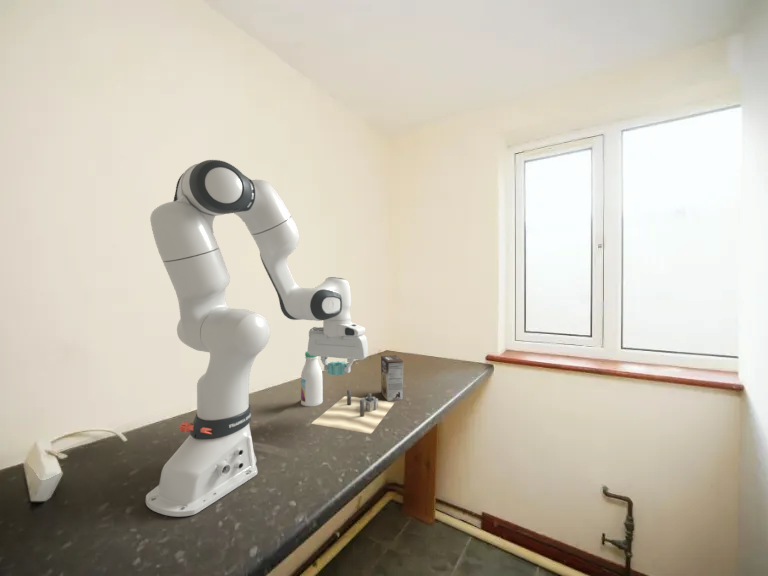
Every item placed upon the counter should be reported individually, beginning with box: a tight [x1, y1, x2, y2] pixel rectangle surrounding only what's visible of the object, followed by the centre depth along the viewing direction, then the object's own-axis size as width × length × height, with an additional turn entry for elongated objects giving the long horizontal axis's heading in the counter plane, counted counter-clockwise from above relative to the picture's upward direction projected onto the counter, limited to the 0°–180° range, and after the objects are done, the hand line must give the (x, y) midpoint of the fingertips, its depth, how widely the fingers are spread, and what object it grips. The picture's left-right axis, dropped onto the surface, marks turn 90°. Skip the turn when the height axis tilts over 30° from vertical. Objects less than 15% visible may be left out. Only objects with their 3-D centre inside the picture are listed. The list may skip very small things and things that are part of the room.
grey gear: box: [361, 396, 379, 412], centre depth 104 cm, size 6×6×3 cm
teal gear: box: [327, 360, 348, 377], centre depth 96 cm, size 6×6×3 cm
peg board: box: [310, 389, 395, 435], centre depth 101 cm, size 24×20×6 cm
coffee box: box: [380, 355, 404, 402], centre depth 116 cm, size 9×6×16 cm
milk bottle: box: [300, 350, 324, 407], centre depth 110 cm, size 8×8×20 cm
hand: (337, 371), depth 96 cm, fingers closed on teal gear, 6 cm apart
